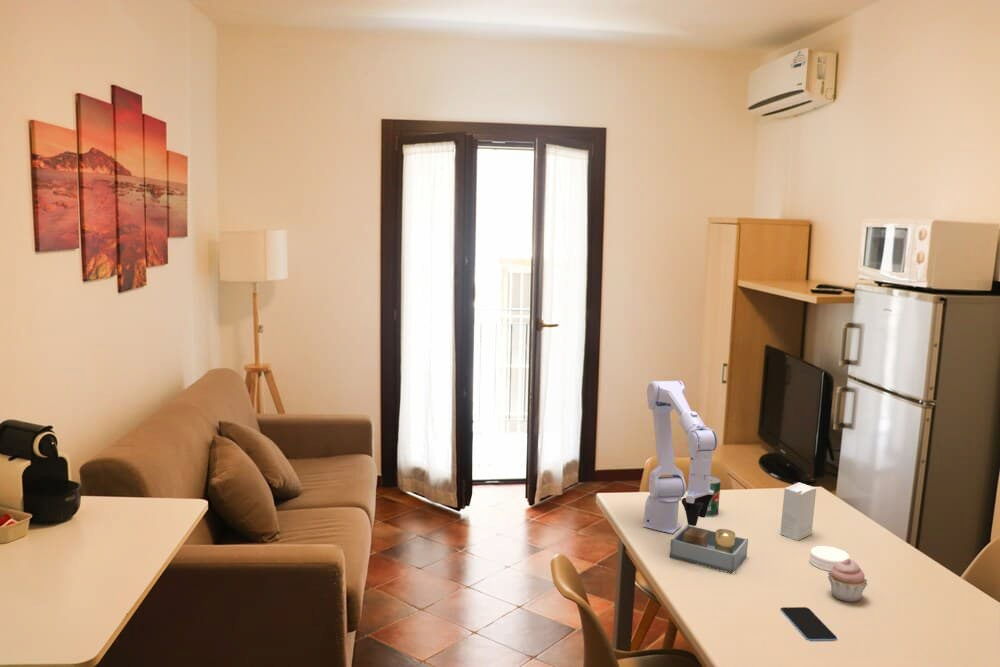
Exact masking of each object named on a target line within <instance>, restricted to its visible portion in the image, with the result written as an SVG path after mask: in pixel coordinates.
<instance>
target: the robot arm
mask: <svg viewBox="0 0 1000 667" xmlns="http://www.w3.org/2000/svg"><path fill="white" fill-rule="evenodd" d="M646 394H647V395H646V397H647V405H648V409H649V410H651V411H652V418H653V428H654V438H655V449H656V451H655V452H656V460H657V466H655V468H653V470H651V471H650V473H649V480H648V481H649V482H648V491H649V495H648V496H647V498H646V500H645V505H644V517H643V518H644V519H643V520H644V521H643V525H642V527H643V528H647V529H651V530H655V531H658V532H659V531H660V532H664V533H667V534H671V535H673V534H675V533H676V532H677V531H678V530H680V528H681V527H682V524H681V523H678V519H679V506H680V505H679V502H680V501H681V505H682V506H683V508H684V511H685V515H686V516H685V517H686V521H687V525H690V526H694V527H697V523H698V521H699V518H704V519H705V518H706V513H707V509H708V506H709V503H710V501H711V499H712V497H713V496H714V491H713V490H710V477H711V476H712V474H711V473H712V462H713V461H712V460H713V451H716V450H717V447H718V436H717V434H716V432H715V430H714V429H712V428H710V427H707V426H706V425H705V423H704V421H703V420H702V418H701V417H700V415H699V413H698V412H696V411H695V410H694V411H693V410H692V409H691V407H690V405H689V403H688V400H687V399H686V387H685V384H684V383H683V381H682V380H679V379H677V380H651V381H649V384H648V385H647V388H646ZM673 410H674V411H675V412H676V413H677V415H678V416H679V421H678V422H679V426H681V428H682V430H683V432H684V433H685V435H686V437H687V438H686V443H687V447H688V448H687V449H688V457H689V469H688V470H689V472H688V484H687V483H686V480H685V476H684V472H683V471H682V470H681V469H680V468H679V467H677V466H676V465H675V455H674V454H675V453H674V444H673V443H674V442H673V432H672V423H671V422H672V421H671V412H672V411H673ZM685 495H686V497H684V496H685Z"/></svg>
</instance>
